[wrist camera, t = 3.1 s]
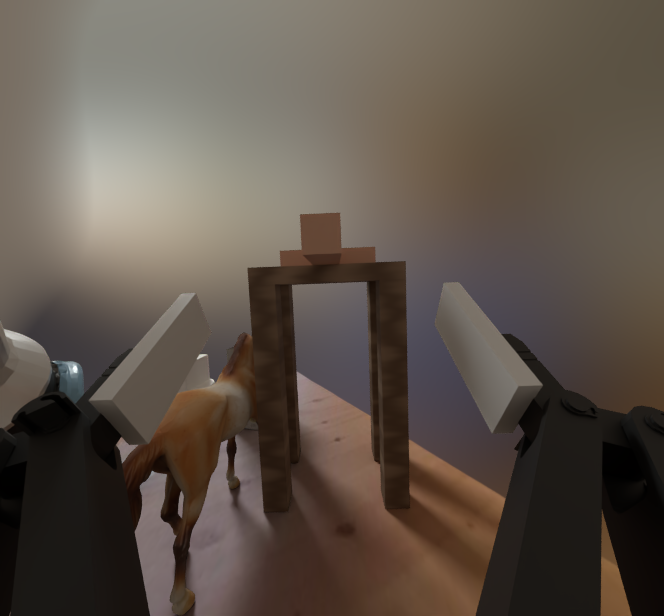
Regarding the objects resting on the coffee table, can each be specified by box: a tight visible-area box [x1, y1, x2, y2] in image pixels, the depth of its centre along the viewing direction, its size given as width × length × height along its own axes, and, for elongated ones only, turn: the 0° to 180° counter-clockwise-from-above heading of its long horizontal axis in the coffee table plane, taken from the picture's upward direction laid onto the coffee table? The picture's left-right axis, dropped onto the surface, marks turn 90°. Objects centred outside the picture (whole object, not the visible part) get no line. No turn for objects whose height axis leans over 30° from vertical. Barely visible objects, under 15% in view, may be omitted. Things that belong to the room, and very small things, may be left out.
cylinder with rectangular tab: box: [178, 354, 214, 393], centre depth 61 cm, size 9×9×12 cm
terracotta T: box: [280, 213, 376, 266], centre depth 31 cm, size 14×22×3 cm, turn 179°
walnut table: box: [248, 261, 410, 512], centre depth 37 cm, size 18×12×30 cm, turn 89°
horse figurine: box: [122, 333, 258, 616], centre depth 31 cm, size 31×8×21 cm, turn 169°
